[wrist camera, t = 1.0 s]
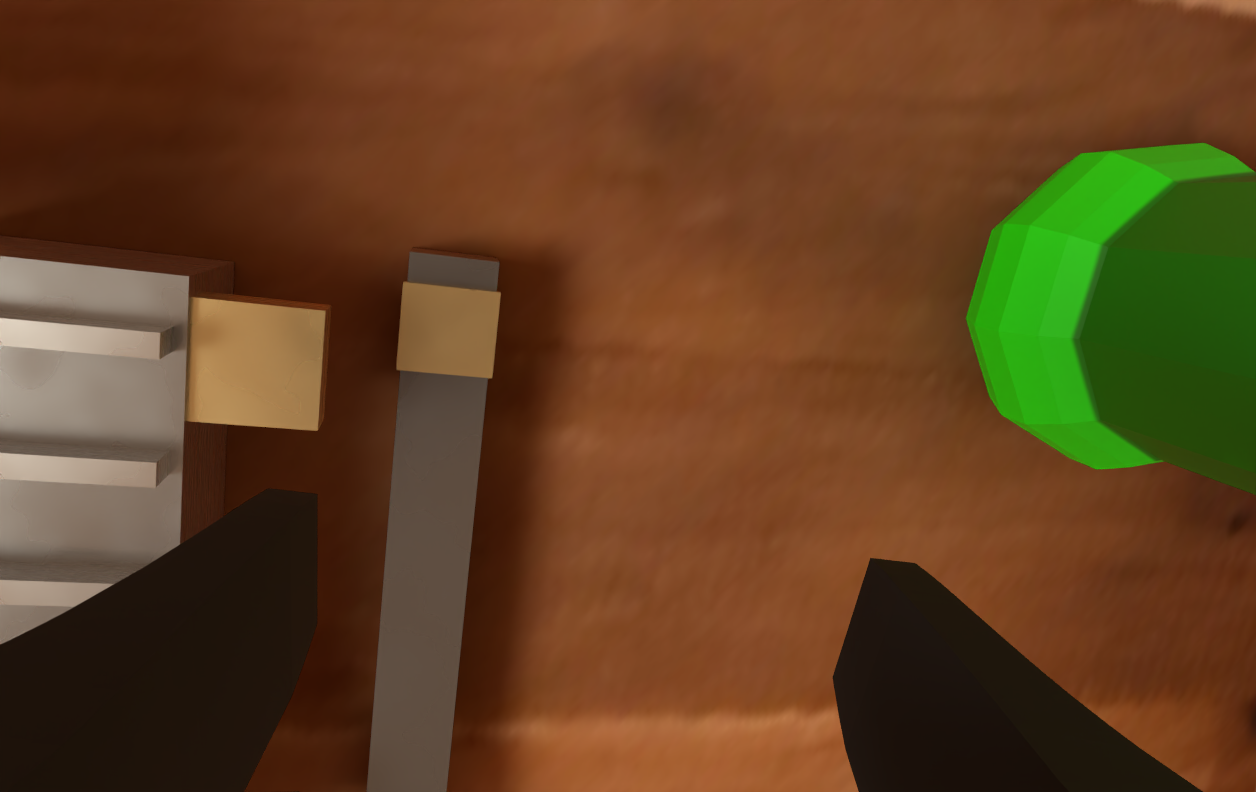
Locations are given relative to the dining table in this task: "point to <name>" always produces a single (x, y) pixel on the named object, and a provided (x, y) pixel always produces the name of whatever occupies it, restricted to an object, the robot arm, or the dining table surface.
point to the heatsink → (129, 409)
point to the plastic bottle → (1128, 311)
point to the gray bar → (431, 513)
